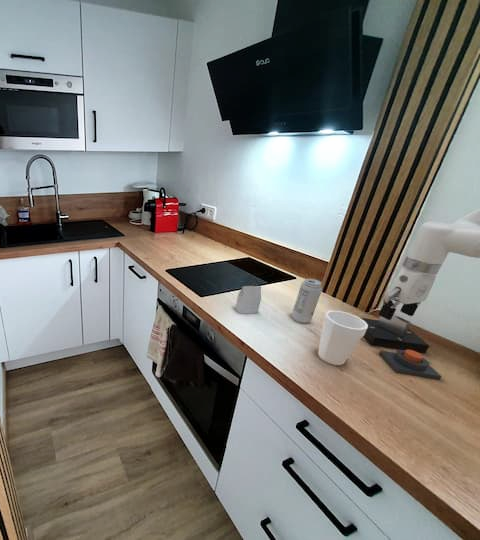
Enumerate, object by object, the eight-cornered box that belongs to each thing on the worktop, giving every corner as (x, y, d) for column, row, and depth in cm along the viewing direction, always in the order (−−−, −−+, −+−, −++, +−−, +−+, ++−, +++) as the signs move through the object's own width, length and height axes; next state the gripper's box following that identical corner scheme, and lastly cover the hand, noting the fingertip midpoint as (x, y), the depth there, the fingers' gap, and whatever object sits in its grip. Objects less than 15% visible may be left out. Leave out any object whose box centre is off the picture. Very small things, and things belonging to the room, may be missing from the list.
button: (414, 355, 80) (417, 350, 80) (423, 364, 77) (426, 359, 76) (399, 353, 81) (402, 348, 80) (408, 361, 78) (410, 356, 77)
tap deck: (399, 330, 96) (403, 322, 95) (425, 353, 85) (430, 345, 84) (352, 324, 99) (355, 316, 98) (371, 345, 88) (375, 337, 87)
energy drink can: (312, 325, 97) (326, 286, 91) (293, 322, 99) (305, 283, 93) (307, 316, 103) (320, 279, 97) (289, 313, 104) (300, 276, 98)
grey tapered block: (257, 313, 104) (263, 288, 100) (239, 313, 103) (245, 289, 100) (252, 307, 107) (258, 284, 103) (235, 308, 107) (240, 284, 103)
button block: (418, 359, 83) (423, 351, 81) (439, 379, 76) (445, 371, 74) (378, 353, 85) (382, 345, 84) (395, 372, 78) (400, 363, 76)
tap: (404, 336, 88) (411, 321, 86) (400, 336, 88) (407, 322, 86) (380, 323, 94) (386, 310, 92) (376, 324, 94) (382, 310, 92)
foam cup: (356, 361, 81) (373, 322, 76) (343, 373, 77) (360, 334, 71) (320, 343, 89) (333, 307, 83) (305, 354, 84) (319, 316, 78)
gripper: (416, 273, 77) (389, 326, 83) (457, 268, 81) (428, 318, 88) (385, 262, 83) (363, 312, 90) (425, 258, 88) (400, 306, 95)
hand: (395, 315), depth 89 cm, fingers open, 9 cm apart
